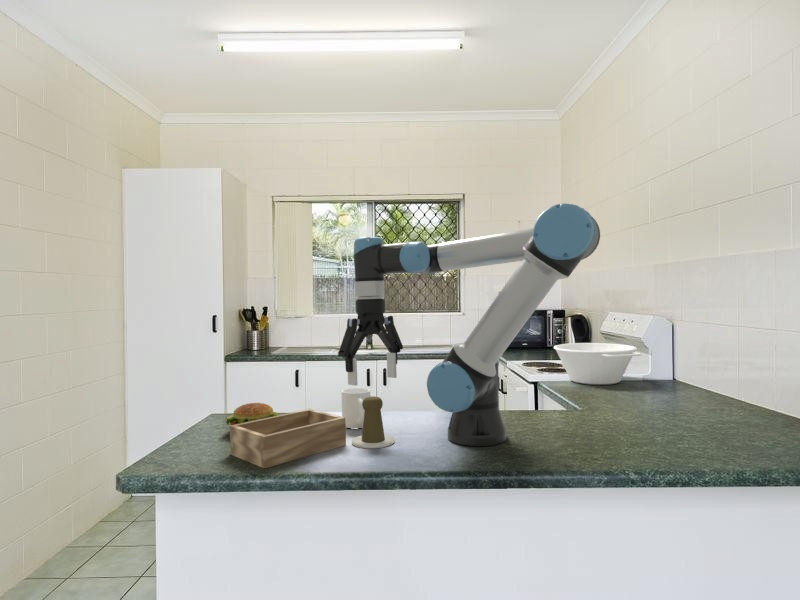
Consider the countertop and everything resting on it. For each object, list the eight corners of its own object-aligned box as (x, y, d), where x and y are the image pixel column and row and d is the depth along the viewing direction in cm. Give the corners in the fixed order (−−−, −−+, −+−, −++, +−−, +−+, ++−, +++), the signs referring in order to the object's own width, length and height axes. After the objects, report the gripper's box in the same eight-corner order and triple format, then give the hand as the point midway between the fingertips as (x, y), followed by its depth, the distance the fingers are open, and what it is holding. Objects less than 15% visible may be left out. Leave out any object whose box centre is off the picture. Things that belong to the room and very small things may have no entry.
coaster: (403, 441, 137) (403, 439, 137) (371, 451, 129) (371, 448, 129) (374, 433, 145) (374, 431, 145) (342, 442, 137) (342, 440, 137)
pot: (534, 376, 232) (533, 344, 232) (597, 372, 241) (597, 340, 241) (591, 393, 194) (591, 354, 194) (664, 387, 203) (663, 349, 202)
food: (249, 423, 160) (249, 397, 159) (287, 428, 153) (287, 400, 153) (215, 435, 147) (214, 406, 147) (255, 440, 141) (254, 410, 141)
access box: (346, 445, 135) (345, 417, 135) (264, 468, 118) (263, 437, 118) (309, 434, 146) (309, 408, 146) (230, 454, 129) (229, 425, 129)
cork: (361, 436, 140) (360, 395, 140) (384, 435, 140) (383, 394, 140) (361, 443, 134) (360, 400, 134) (385, 442, 134) (384, 399, 134)
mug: (377, 431, 147) (376, 394, 147) (347, 434, 145) (346, 396, 145) (367, 421, 159) (366, 387, 159) (340, 424, 157) (339, 389, 156)
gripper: (394, 297, 148) (397, 373, 148) (321, 300, 130) (325, 386, 130) (414, 296, 143) (416, 375, 143) (341, 299, 125) (344, 389, 125)
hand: (373, 381), depth 137 cm, fingers open, 13 cm apart
